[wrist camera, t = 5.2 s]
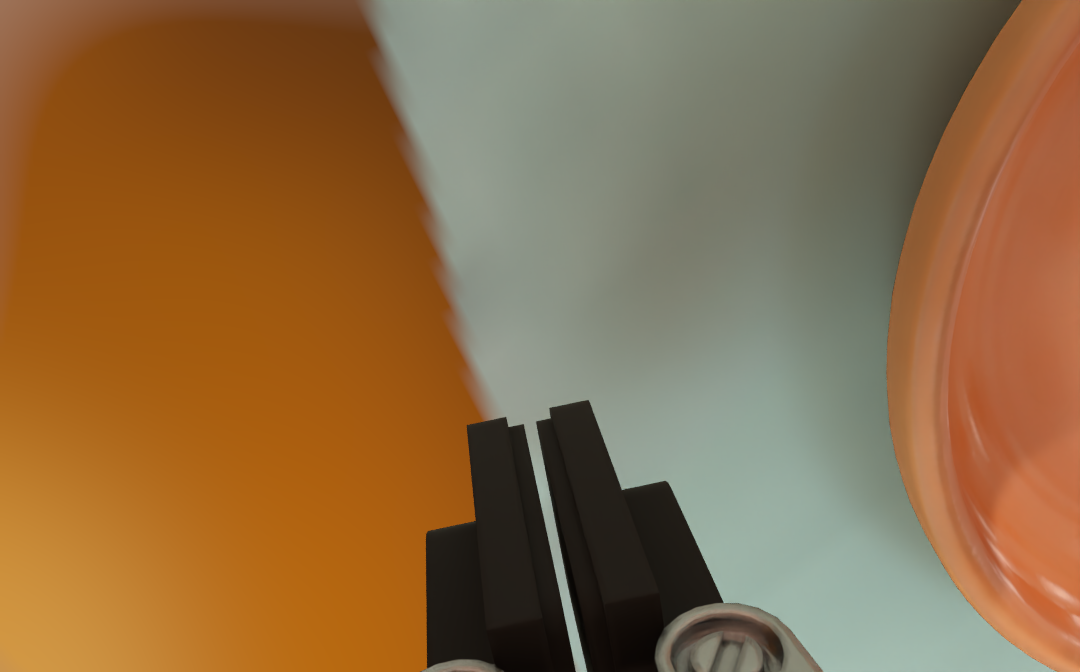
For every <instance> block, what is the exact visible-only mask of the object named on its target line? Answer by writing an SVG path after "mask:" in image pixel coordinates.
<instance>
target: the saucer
mask: <svg viewBox="0 0 1080 672" xmlns="http://www.w3.org/2000/svg"><path fill="white" fill-rule="evenodd" d="M886 374H887V394H888V407H889V421H890V429H891V434H892V439H893V445H894V450H895V455H896V459H897V462H898V466H899V469H900V473H901V476H902V480H903V483H904V486H905V489H906V491H907V494H908V497H909V500H910V503H911V505H912V507H913V509H914V511H915V513H916V516H917V518H918V520H919V522H920V524H921V526H922V528H923V530H924V532H925V534H926V536H927V538H928V540H929V541H930V543H931V545H932V547H933V548H934V550H935V552H936V554H937V556H938V557H939V559H940V561H941V563H942V564H943V566H944V568H945V569H946V571H947V573H948V574H949V576H950V577H951V579H952V580H953V582H954V583H955V585H956V586H957V587H958V589H959V590H960V592H961V593H962V594H963V596H964V597H965V598H966V600H967V601H968V602H969V603H970V604H971V605H972V606H973V608H974V609H975V610H976V611H977V612H978V613H979V614H980V615H981V616H982V617H983V618H984V619H985V620H986V621H987V622H988V623H989V624H990V625H991V626H992V627H993V628H994V629H995V630H996V631H997V632H999V633H1000V634H1001V635H1002V636H1003V637H1004V638H1005V639H1006V640H1008V641H1009V642H1011V643H1012V644H1013V645H1015V646H1016V647H1018V648H1019V649H1020V650H1022V651H1023V652H1025V653H1026V654H1027V655H1029V656H1030V657H1032V658H1033V659H1035V660H1037V661H1039V662H1040V663H1042V664H1044V665H1046V666H1047V667H1049V668H1051V669H1053V670H1055V671H1057V672H1080V0H1022V1H1021V2H1020V4H1019V5H1018V7H1017V8H1016V10H1015V11H1014V12H1013V14H1012V15H1011V17H1010V18H1009V20H1008V21H1007V22H1006V24H1005V25H1004V27H1003V28H1002V30H1001V31H1000V33H999V34H998V35H997V37H996V38H995V40H994V42H993V44H992V45H991V47H990V49H989V50H988V52H987V54H986V55H985V57H984V59H983V60H982V62H981V64H980V65H979V67H978V69H977V70H976V72H975V74H974V76H973V77H972V79H971V81H970V82H969V84H968V86H967V88H966V90H965V91H964V93H963V95H962V97H961V99H960V101H959V103H958V105H957V107H956V109H955V111H954V113H953V115H952V117H951V119H950V121H949V123H948V125H947V127H946V129H945V131H944V133H943V135H942V138H941V140H940V142H939V145H938V147H937V149H936V151H935V154H934V156H933V159H932V161H931V163H930V166H929V168H928V171H927V173H926V176H925V179H924V181H923V184H922V187H921V190H920V192H919V195H918V198H917V200H916V203H915V206H914V209H913V213H912V216H911V220H910V223H909V227H908V230H907V234H906V237H905V241H904V244H903V248H902V252H901V256H900V260H899V265H898V270H897V274H896V279H895V284H894V289H893V293H892V302H891V312H890V321H889V331H888V341H887V372H886Z"/></svg>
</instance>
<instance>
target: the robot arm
mask: <svg viewBox="0 0 1080 672" xmlns="http://www.w3.org/2000/svg"><path fill="white" fill-rule="evenodd" d="M549 409H550V416H551V419H546V420H542V421H537V422H536V424H537V429H538V435H539V440H540V445H541V450H542V455H543V460H544V465H545V471H546V476H547V481H548V486H549V491H550V496H551V501H552V507H553V512H554V517H555V522H556V527H557V532H558V537H559V543H560V548H561V553H562V558H563V563H564V568H565V573H566V579H567V584H568V588H569V593H570V598H571V602H572V607H573V611H574V616H575V620H576V624H577V629H578V633H579V638H580V642H581V646H582V651H583V655H584V659H585V664H586V668H587V672H823V671H822V670H821V668H820V667H819V666H818V664H817V663H816V662H815V661H814V659H813V658H812V657H811V655H810V654H809V653H808V652H807V650H806V649H805V648H804V647H803V645H802V644H801V643H800V641H799V640H798V639H797V638H796V636H795V635H794V634H793V632H792V631H791V630H790V629H789V628H788V627H787V626H786V625H785V624H783V623H782V622H781V621H780V620H779V619H778V618H777V617H775V616H773V615H771V614H769V613H767V612H765V611H763V610H761V609H759V608H756V607H752V606H748V605H743V604H739V603H723V600H722V598H721V596H720V594H719V592H718V589H717V587H716V585H715V583H714V581H713V578H712V576H711V574H710V572H709V570H708V568H707V565H706V563H705V561H704V559H703V557H702V554H701V552H700V550H699V548H698V546H697V544H696V541H695V539H694V537H693V535H692V533H691V530H690V528H689V526H688V524H687V522H686V520H685V517H684V515H683V513H682V511H681V509H680V506H679V504H678V502H677V500H676V498H675V496H674V493H673V491H672V489H671V487H670V485H669V484H668V482H666V481H662V482H658V483H653V484H648V485H644V486H639V487H634V488H629V489H625V490H622V489H621V487H620V484H619V481H618V478H617V476H616V473H615V470H614V467H613V465H612V462H611V459H610V457H609V454H608V451H607V448H606V446H605V443H604V440H603V437H602V435H601V432H600V429H599V427H598V424H597V421H596V418H595V416H594V413H593V410H592V407H591V405H590V402H589V400H586V401H581V402H576V403H572V404H567V405H562V406H557V407H552V408H549ZM467 434H468V444H469V455H470V464H471V476H472V486H473V497H474V507H475V517H476V521H474V522H469V523H464V524H460V525H455V526H450V527H446V528H441V529H436V530H431V531H428V532H427V534H426V593H427V595H426V596H427V669H425V670H423V671H421V672H576V671H575V666H574V661H573V656H572V651H571V646H570V641H569V636H568V631H567V626H566V621H565V616H564V611H563V607H562V602H561V597H560V592H559V588H558V583H557V578H556V574H555V569H554V564H553V560H552V555H551V550H550V546H549V541H548V536H547V532H546V527H545V522H544V517H543V513H542V508H541V503H540V499H539V494H538V489H537V485H536V480H535V475H534V471H533V466H532V461H531V457H530V452H529V447H528V443H527V438H526V433H525V429H524V424H522V425H517V426H513V427H508V424H507V419H506V417H504V418H499V419H494V420H490V421H485V422H481V423H476V424H470V425H467Z"/></svg>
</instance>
